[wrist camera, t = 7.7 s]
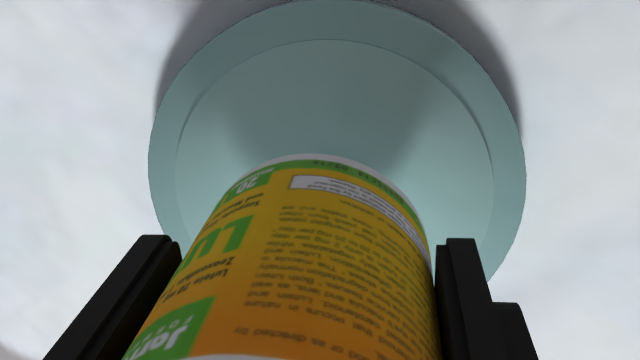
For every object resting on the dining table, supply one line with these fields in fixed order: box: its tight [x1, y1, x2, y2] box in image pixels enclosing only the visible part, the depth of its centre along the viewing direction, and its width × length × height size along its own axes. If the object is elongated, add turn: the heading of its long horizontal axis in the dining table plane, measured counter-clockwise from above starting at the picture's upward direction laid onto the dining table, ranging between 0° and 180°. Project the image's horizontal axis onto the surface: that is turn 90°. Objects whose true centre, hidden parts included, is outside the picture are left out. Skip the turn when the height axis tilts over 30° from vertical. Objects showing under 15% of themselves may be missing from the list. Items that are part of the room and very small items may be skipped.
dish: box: [148, 0, 526, 282], centre depth 16 cm, size 11×11×1 cm
